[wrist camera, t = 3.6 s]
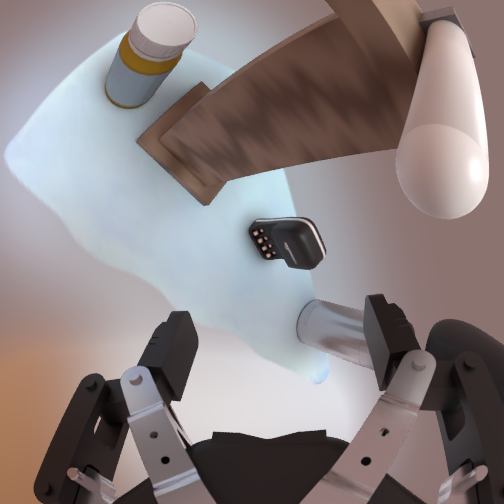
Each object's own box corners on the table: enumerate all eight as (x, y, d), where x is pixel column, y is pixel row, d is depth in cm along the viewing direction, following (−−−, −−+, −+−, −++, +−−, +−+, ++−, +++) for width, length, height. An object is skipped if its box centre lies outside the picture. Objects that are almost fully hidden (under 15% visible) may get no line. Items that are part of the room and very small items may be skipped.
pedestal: (252, 144, 43) (460, 92, 17) (203, 205, 39) (457, 184, 13) (196, 85, 36) (389, -35, 10) (135, 141, 32) (346, -31, 6)
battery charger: (241, 230, 43) (295, 232, 34) (258, 216, 44) (312, 214, 35) (262, 266, 46) (316, 276, 36) (277, 251, 47) (331, 258, 38)
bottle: (163, 89, 33) (215, 31, 21) (127, 119, 31) (165, 62, 19) (132, 58, 30) (172, -9, 18) (94, 86, 28) (117, 16, 15)
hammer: (421, 13, 12) (452, 6, 10) (440, 48, 14) (470, 43, 12) (363, 158, 6) (477, 147, 4) (405, 241, 8) (491, 248, 6)
